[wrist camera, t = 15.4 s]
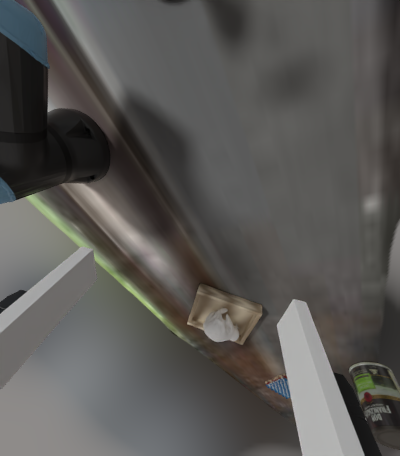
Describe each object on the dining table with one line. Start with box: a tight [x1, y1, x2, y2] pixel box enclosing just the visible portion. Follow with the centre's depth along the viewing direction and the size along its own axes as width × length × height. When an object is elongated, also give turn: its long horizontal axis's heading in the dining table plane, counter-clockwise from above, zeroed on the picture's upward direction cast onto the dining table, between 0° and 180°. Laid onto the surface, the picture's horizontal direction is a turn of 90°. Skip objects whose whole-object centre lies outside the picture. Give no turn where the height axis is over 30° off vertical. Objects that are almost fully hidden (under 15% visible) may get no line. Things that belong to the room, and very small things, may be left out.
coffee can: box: [349, 362, 400, 450], centre depth 50 cm, size 10×10×14 cm
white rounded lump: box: [203, 308, 239, 342], centre depth 55 cm, size 6×8×12 cm
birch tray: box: [187, 283, 262, 345], centre depth 57 cm, size 18×16×3 cm
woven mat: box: [265, 374, 291, 399], centre depth 69 cm, size 10×11×2 cm
